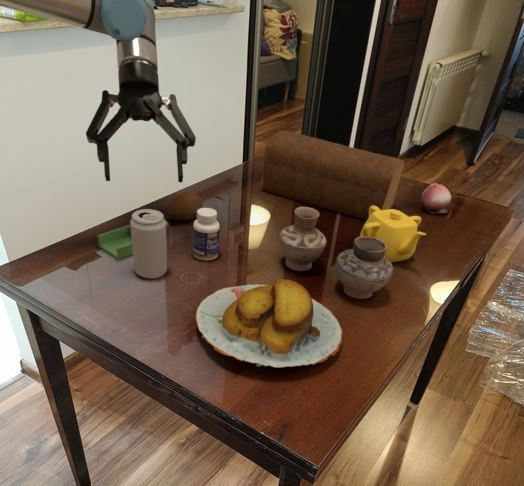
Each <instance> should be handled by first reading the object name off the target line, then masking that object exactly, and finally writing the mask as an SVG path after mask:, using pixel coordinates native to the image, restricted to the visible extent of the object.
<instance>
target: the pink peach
mask: <svg viewBox="0 0 524 486" xmlns="http://www.w3.org/2000/svg"><path fill="white" fill-rule="evenodd" d="M451 201H452V195H451V193H450V191H449V190H448V188H447V187H446V186H445V185H444V184H439V183H436V182H433V183H431V184H429V185H428V187H426V188H425V189H424V190H423V192H422V194H421V198H420V204H421V207H422V208H423V209H424V211H425V212H427V213H429V214H432V215H435V214H436V215H437V214H446V213H448V208H447V207H448V206H449V205H450V204H451Z"/></svg>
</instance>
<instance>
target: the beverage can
mask: <svg viewBox="0 0 524 486" xmlns="http://www.w3.org/2000/svg"><path fill="white" fill-rule="evenodd" d="M164 217H165V216H164V214H163V213H162V212H161V211H159V210H157V209H152V208H143V209H138V210H136V211H133V213H132V214H131V219H130V221H129V223H130V224H129V225H130V226H131V237H132V249H133V255H132V258H133V259H132V260H133V270H134V272H135V273H136V275H138V276H140V277H142V278H144V279H149V280H150V279H151V280H153V279H158V278H161V277H162V276H163V275H164V274H166V272H168V248H167V246H168V245H167V228H166V221H167V220H166V219H165V218H164Z"/></svg>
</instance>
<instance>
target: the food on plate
mask: <svg viewBox="0 0 524 486" xmlns="http://www.w3.org/2000/svg"><path fill="white" fill-rule="evenodd" d="M194 314H195V317H194V320H195V322H196V327H197V328H198V331H199V332H200V333H201V334H202V336H201V339H205V341H206V342H207V343H208V344H210V345H211V346H212V347H213V349H214V351H217V352H218V353H220V356H222V355H224V356H228V357H233V358H235V359H236V360H238V361H241V362H245V363H250V364H255V366H256V367H258V368H259V367H262V366H263V367H269V366H270V367H273V368H287V367H290V368H293V367H296V366H297V367H301V366H309V365H313V366H315V365H316V364H317V363H323V362H324V361H327V360H328V359H329V357H330V356H332V357H334V356H335V355H336V354H337V352H339V350H340V347H341V344H342V343H343V333H344V330H343V328H342V326H341V324H340V323H339V320H338V319H337V318H336V317H335V315H334V313H332V311H331V310H330V309H329V308H327V307H325V306H324V305H323V304H322V303H320V302H318V301H317V300H316V299H314V298H312V297H311V294H310V293H309V291H308V290H307V289H306V288H305V287H304V285H302V284H300V283H298V282H296V281H294V280H291V279H288V278H284V279H282V278H277V279H275V280H274V282H273V284H245V285H237V286H230V287H227V286H226V287H223V288H221V289H217V290H216V291H214V292H212V294H209V295H208V296H206V297H205V298H204V299H203V300H200V302H199V304H198V306H197V307H196V310H195V313H194Z"/></svg>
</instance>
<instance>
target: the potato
mask: <svg viewBox="0 0 524 486" xmlns="http://www.w3.org/2000/svg"><path fill="white" fill-rule="evenodd" d="M200 208H204V202H203V200H202V198H201V197H200V196H199V195H198V194H196V193H189V192H180V193H178V194H176V195H175V196H173V197H172V198H171V199H170V200H169V202H168V203H167V207H166V213H167V216H168V217H169V218H170V219H171V220H174V221H177V222H183V221H184V222H185V221H186V222H187V221H191V220H195V219H197V210H198V209H200Z"/></svg>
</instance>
